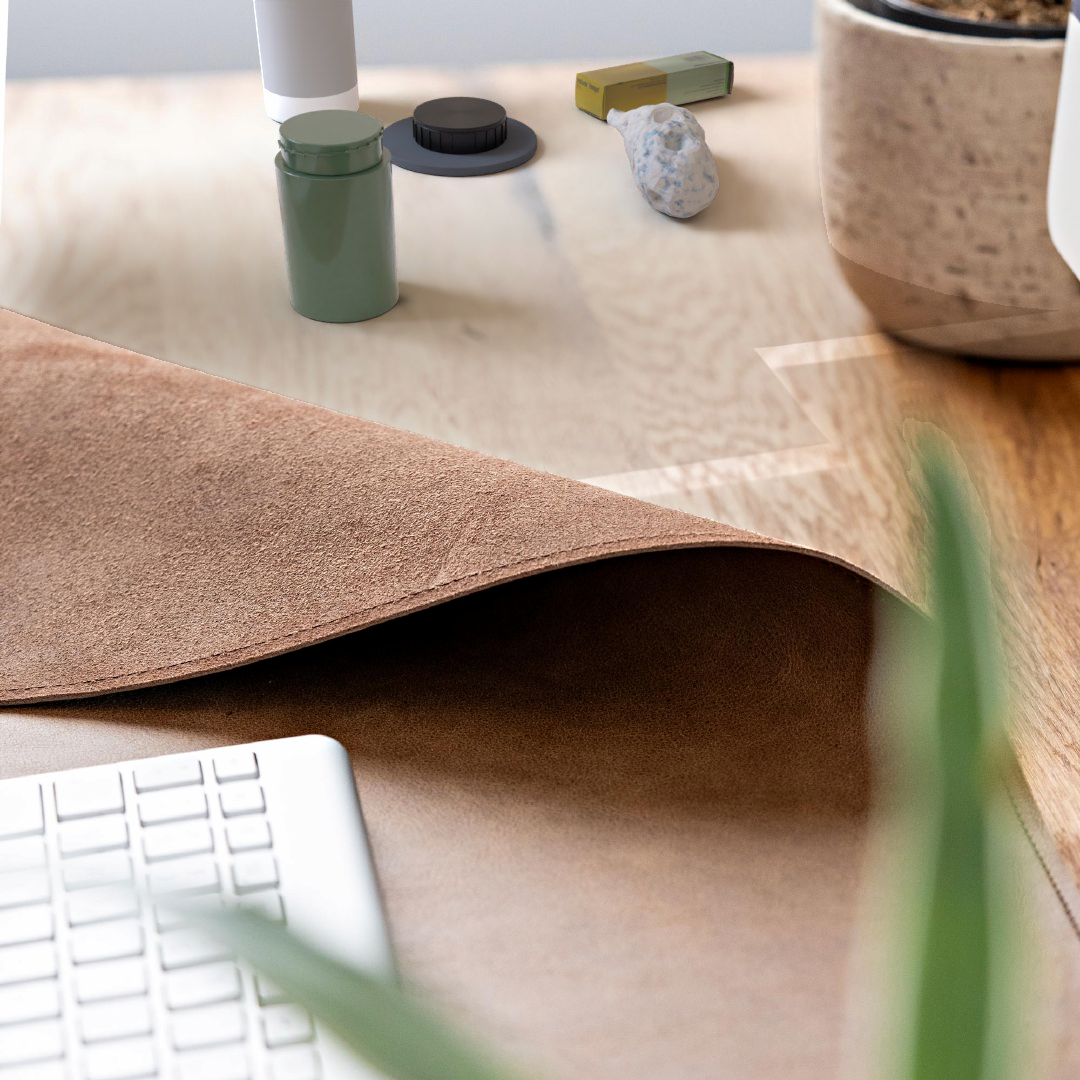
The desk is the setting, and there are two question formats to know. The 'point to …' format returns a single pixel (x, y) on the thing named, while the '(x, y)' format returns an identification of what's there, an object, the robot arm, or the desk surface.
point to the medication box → (654, 83)
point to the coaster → (425, 161)
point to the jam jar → (337, 215)
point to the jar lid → (459, 125)
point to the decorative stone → (668, 157)
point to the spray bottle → (307, 56)
